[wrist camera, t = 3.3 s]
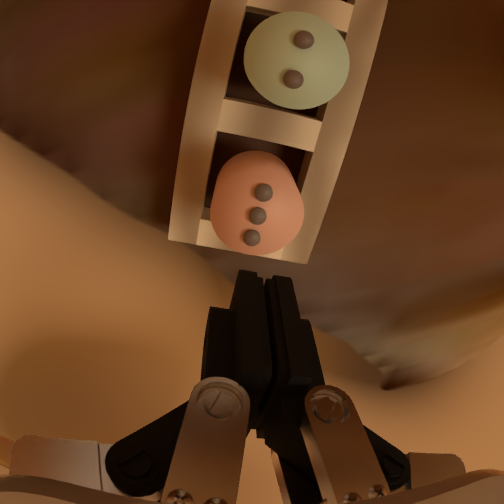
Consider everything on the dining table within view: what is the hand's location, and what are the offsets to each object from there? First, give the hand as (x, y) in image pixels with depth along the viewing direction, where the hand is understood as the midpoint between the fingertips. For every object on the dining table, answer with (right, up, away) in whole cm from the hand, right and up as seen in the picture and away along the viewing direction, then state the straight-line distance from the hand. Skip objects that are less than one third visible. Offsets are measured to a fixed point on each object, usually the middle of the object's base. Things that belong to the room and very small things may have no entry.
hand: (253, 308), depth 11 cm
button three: (0, +6, +9) cm, 11 cm away
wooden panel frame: (+2, +14, +7) cm, 16 cm away
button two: (+2, +12, +5) cm, 14 cm away
